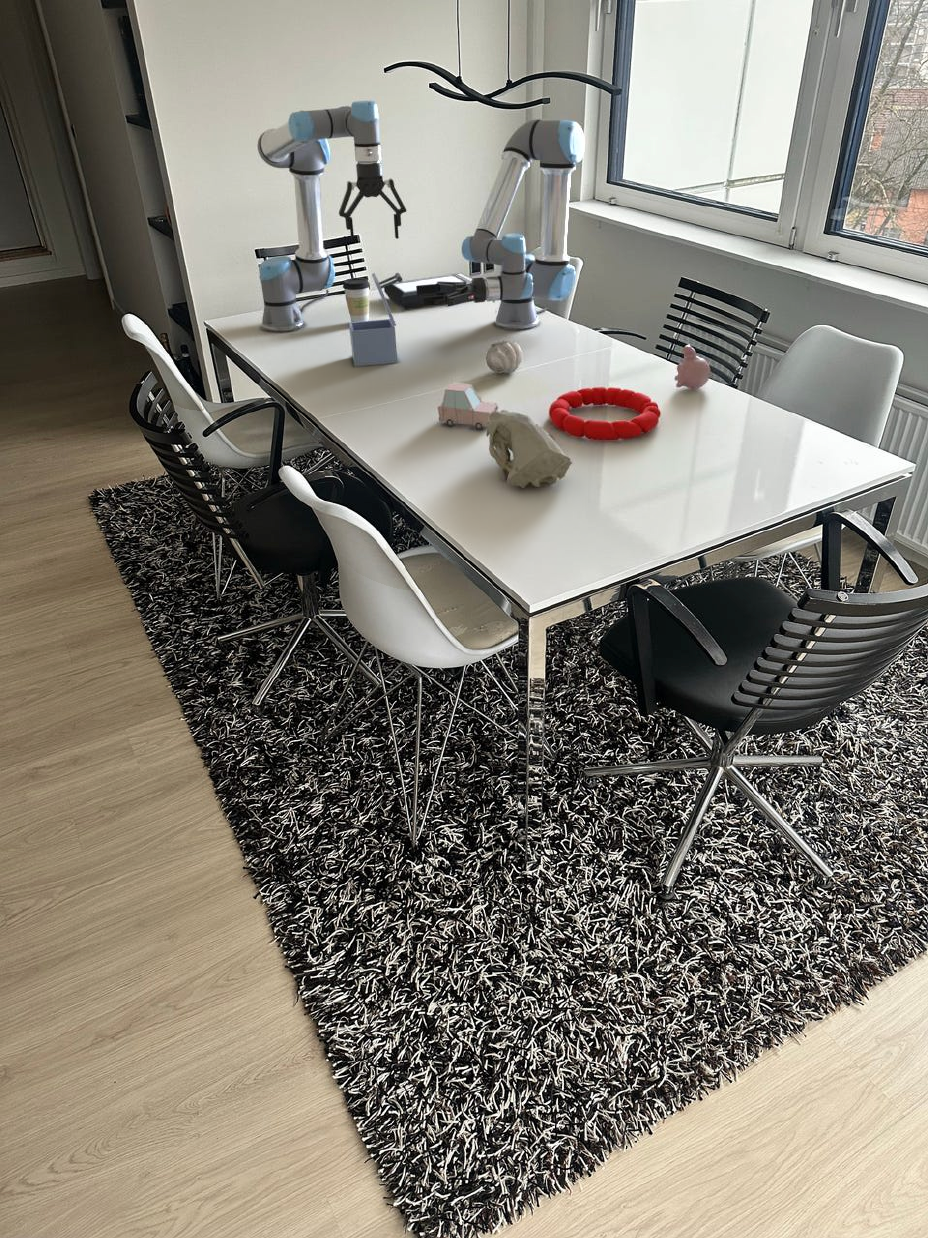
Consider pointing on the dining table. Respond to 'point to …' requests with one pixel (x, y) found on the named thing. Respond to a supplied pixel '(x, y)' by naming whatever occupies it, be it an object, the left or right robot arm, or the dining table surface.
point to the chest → (373, 342)
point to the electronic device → (407, 292)
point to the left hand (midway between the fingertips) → (374, 239)
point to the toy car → (465, 406)
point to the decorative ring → (604, 428)
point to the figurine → (692, 370)
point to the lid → (398, 279)
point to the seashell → (504, 356)
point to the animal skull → (525, 450)
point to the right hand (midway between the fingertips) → (419, 295)
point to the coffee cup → (357, 298)
